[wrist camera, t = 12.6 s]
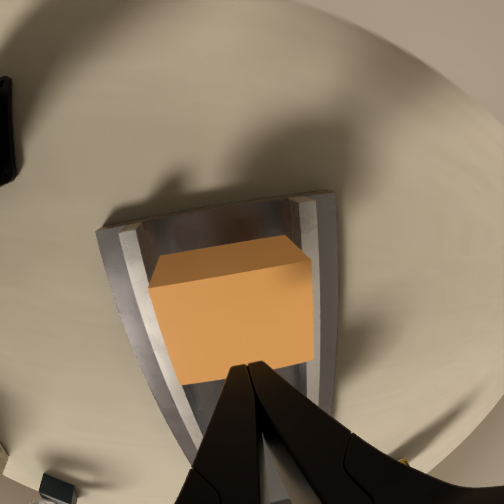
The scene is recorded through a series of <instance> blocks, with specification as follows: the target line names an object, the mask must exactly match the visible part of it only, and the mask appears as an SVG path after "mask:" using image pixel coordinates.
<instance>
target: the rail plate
mask: <svg viewBox="0 0 504 504" xmlns="http://www.w3.org/2000/svg"><path fill="white" fill-rule="evenodd" d="M95 233H96V237H97V241H98V245H99V249H100V252H101V256H102V260H103V263H104V267H105V270H106V274H107V277H108V280H109V284H110V287H111V290H112V293H113V296H114V299H115V302H116V305H117V308H118V311H119V314H120V317H121V319H122V322H123V325H124V328H125V330H126V333H127V336H128V338H129V341H130V343H131V346H132V348H133V351H134V353H135V356H136V358H137V360H138V363H139V365H140V367H141V370H142V372H143V374H144V377H145V379H146V381H147V383H148V385H149V388H150V390H151V392H152V394H153V396H154V398H155V400H156V402H157V404H158V406H159V408H160V410H161V412H162V414H163V416H164V418H165V420H166V422H167V424H168V426H169V427H170V429H171V431H172V433H173V435H174V437H175V438H176V440H177V442H178V444H179V445H180V447H181V449H182V451H183V452H184V454H185V456H186V457H187V459H188V461H189V462H190V464H191V466H192V463H193V461H194V458H195V456H196V453H197V451H198V448H199V446H200V443H201V441H202V438H203V436H204V433H205V431H206V428H207V426H208V423H209V421H210V418H211V416H212V413H213V411H214V408H215V406H216V403H217V400H218V398H219V395H220V393H221V390H222V388H223V385H224V382H225V380H226V379H221V380H215V381H208V382H201V383H194V384H187V385H180V384H179V382H178V379H177V377H176V374H175V371H174V368H173V366H172V363H171V360H170V357H169V354H168V352H167V349H166V346H165V343H164V340H163V337H162V334H161V331H160V328H159V324H158V321H157V318H156V315H155V312H154V308H153V305H152V301H151V298H150V295H149V291H148V286H149V283H150V281H151V278H152V275H153V273H154V270H155V267H156V265H157V262H158V259H159V257H160V256H161V255H167V254H173V253H178V252H184V251H190V250H196V249H202V248H208V247H214V246H219V245H225V244H231V243H237V242H243V241H249V240H256V239H262V238H268V237H274V236H280V235H286V236H287V237H288V238H289V239H290V240H291V241H292V242H293V243H294V244H295V245H296V246H297V247H298V248H299V249H300V250H302V251H303V252H304V253H305V254H306V255H307V256H308V257H309V258H310V259H311V262H312V286H313V326H314V360H310V361H307V362H303V363H299V364H295V365H290V366H286V367H282V368H277V369H273V370H275V371H276V372H277V373H278V374H279V375H280V376H282V377H283V378H284V379H285V380H286V381H288V382H289V383H290V384H291V385H292V386H294V387H295V388H296V389H297V390H299V391H300V392H301V393H302V394H304V395H305V396H306V397H307V398H309V399H310V400H311V401H312V402H314V403H315V404H316V405H317V406H319V407H320V408H321V409H322V410H324V411H325V412H326V413H328V414H329V415H330V416H331V411H332V401H333V390H334V377H335V363H336V346H337V323H338V232H337V208H336V192H332V191H329V190H324V191H315V192H307V193H299V194H291V195H283V196H275V197H268V198H261V199H254V200H247V201H240V202H233V203H227V204H221V205H214V206H208V207H202V208H196V209H190V210H185V211H179V212H174V213H168V214H163V215H157V216H152V217H147V218H142V219H137V220H132V221H127V222H122V223H117V224H112V225H108V226H103V227H101V228H99V229H98V230H97V231H95Z"/></svg>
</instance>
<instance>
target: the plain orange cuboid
mask: <svg viewBox="0 0 504 504" xmlns="http://www.w3.org/2000/svg"><path fill="white" fill-rule="evenodd" d="M148 291H149V295H150V298H151V301H152V305H153V308H154V312H155V315H156V318H157V321H158V324H159V328H160V331H161V334H162V337H163V340H164V343H165V346H166V349H167V352H168V354H169V357H170V360H171V363H172V366H173V368H174V371H175V374H176V377H177V379H178V382H179V384H180V385H187V384H194V383H201V382H208V381H215V380H221V379H226V377H227V375H228V372H229V369H230V367H231V366H235V365H240V364H246V365H248V363H251V362H256V361H264V362H265V363H266V364H268V365H269V366H270V367H271V368H272V369H277V368H282V367H286V366H290V365H295V364H299V363H303V362H307V361H310V360H314V326H313V286H312V262H311V259H310V258H309V257H308V256H307V255H306V254H305V253H304V252H303V251H302V250H300V249H299V248H298V247H297V246H296V245H295V244H294V243H293V242H292V241H291V240H290V239H289V238H288V237H287V236H286V235H280V236H274V237H268V238H262V239H256V240H249V241H243V242H237V243H231V244H225V245H219V246H214V247H208V248H202V249H196V250H190V251H184V252H178V253H173V254H167V255H161V256H160V257H159V259H158V262H157V265H156V267H155V270H154V273H153V275H152V278H151V281H150V283H149V286H148Z"/></svg>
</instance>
